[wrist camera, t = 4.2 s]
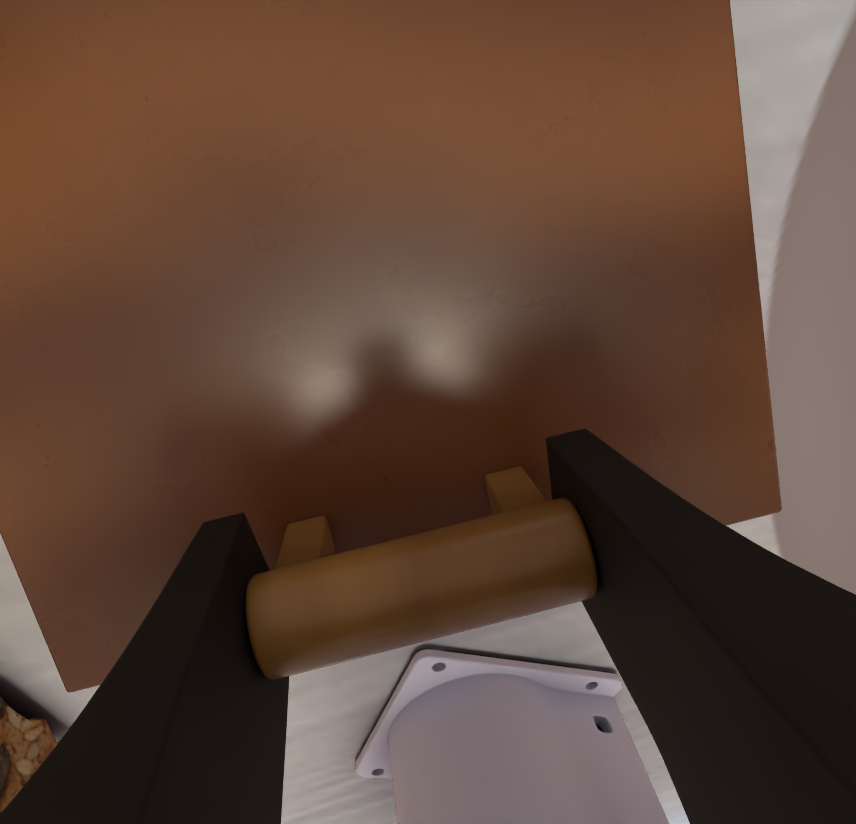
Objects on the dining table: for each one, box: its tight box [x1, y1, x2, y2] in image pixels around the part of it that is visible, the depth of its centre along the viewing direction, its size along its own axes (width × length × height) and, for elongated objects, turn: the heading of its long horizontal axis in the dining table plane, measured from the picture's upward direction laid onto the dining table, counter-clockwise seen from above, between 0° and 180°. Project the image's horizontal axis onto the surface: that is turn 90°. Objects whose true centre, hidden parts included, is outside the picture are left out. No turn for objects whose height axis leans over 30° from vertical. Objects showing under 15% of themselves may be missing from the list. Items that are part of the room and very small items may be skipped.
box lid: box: [0, 0, 782, 692], centre depth 10 cm, size 11×13×4 cm
